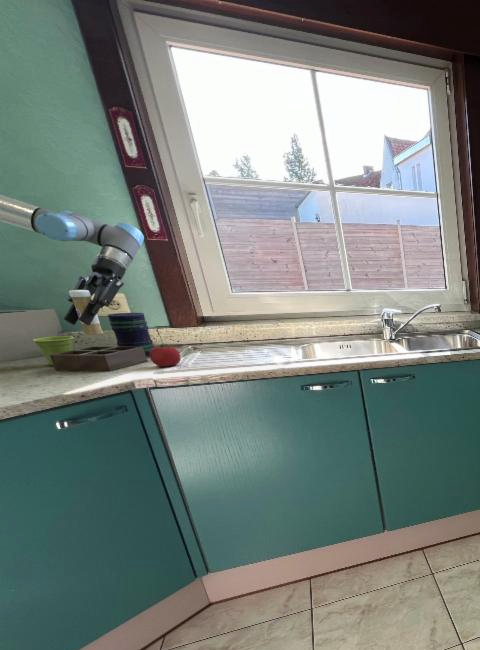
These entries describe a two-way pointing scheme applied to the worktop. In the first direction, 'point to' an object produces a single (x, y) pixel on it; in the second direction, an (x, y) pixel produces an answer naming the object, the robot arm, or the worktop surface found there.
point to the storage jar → (131, 330)
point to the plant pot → (54, 345)
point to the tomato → (164, 356)
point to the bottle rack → (98, 358)
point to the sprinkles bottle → (81, 302)
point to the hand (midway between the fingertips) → (76, 322)
